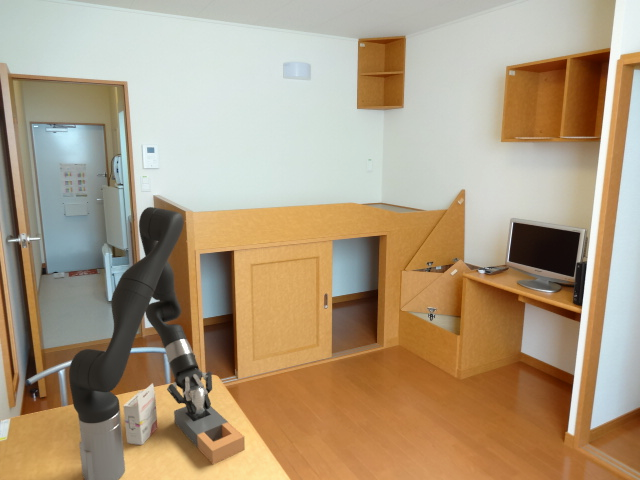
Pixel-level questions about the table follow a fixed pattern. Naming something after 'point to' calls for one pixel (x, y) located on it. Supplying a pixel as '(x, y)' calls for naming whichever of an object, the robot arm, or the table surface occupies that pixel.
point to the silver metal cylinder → (197, 402)
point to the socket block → (211, 434)
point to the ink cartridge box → (140, 416)
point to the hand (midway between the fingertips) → (201, 410)
